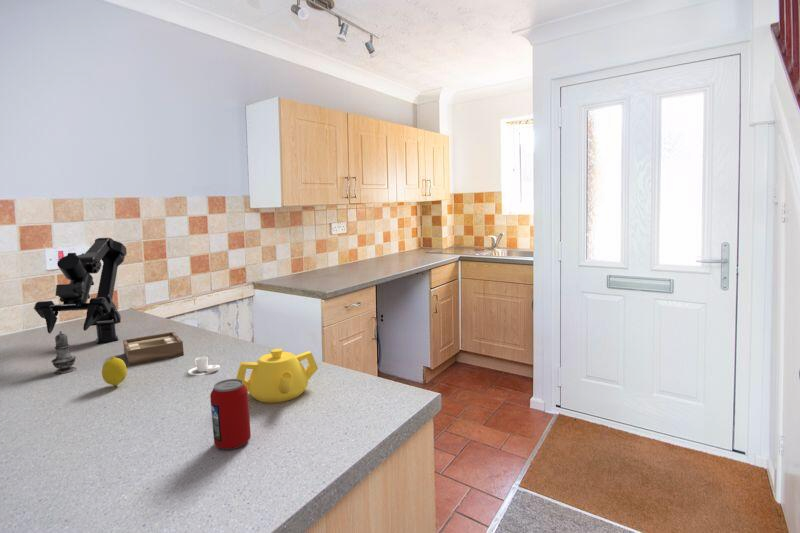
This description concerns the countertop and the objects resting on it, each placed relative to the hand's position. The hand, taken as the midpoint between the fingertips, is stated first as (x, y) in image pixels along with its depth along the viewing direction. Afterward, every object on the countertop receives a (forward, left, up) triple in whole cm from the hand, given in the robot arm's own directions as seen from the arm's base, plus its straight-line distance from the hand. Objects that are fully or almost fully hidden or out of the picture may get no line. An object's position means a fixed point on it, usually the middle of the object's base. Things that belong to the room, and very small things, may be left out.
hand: (66, 331), depth 134 cm
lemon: (+28, +10, -11) cm, 31 cm away
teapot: (+62, +42, -11) cm, 75 cm away
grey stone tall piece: (+4, -1, -11) cm, 12 cm away
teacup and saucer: (+33, +30, -12) cm, 46 cm away
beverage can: (+78, +26, -11) cm, 82 cm away
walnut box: (+4, +22, -11) cm, 24 cm away
